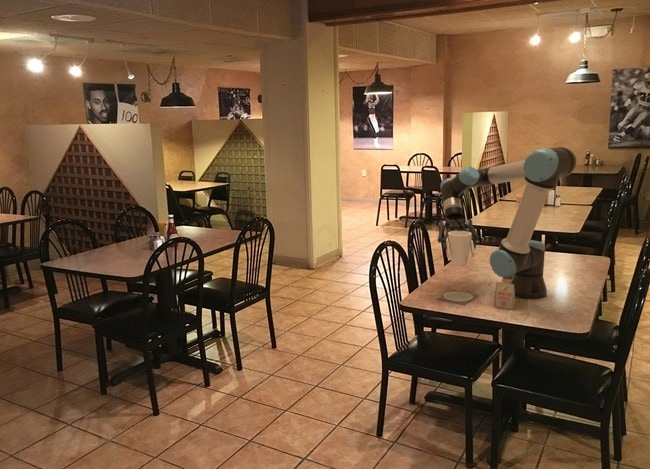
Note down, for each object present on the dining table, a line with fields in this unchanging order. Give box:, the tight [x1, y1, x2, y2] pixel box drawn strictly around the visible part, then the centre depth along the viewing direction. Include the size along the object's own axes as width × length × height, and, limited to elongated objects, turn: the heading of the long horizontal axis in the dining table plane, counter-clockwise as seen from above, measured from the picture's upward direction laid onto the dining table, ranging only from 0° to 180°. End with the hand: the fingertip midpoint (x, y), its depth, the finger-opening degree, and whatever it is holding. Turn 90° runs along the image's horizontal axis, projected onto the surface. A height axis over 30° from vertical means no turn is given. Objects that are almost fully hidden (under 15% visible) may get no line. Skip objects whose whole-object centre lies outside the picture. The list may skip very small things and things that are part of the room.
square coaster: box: [436, 289, 480, 306], centre depth 238 cm, size 12×14×1 cm
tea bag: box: [493, 281, 516, 311], centre depth 225 cm, size 4×7×10 cm, turn 56°
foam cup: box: [447, 230, 472, 267], centre depth 235 cm, size 10×9×13 cm
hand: (461, 255), depth 233 cm, fingers closed on foam cup, 9 cm apart
